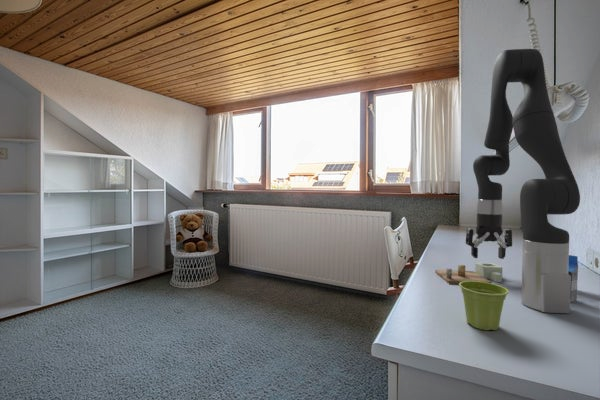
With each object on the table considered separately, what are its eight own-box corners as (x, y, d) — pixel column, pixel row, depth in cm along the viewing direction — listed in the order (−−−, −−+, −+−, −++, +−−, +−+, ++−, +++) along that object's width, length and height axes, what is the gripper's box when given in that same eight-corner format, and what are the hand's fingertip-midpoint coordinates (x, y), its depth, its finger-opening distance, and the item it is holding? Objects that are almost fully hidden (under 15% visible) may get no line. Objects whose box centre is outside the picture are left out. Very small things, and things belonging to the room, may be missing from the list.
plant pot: (463, 312, 73) (463, 278, 73) (509, 323, 67) (510, 285, 67) (454, 326, 66) (455, 287, 65) (505, 339, 60) (506, 297, 59)
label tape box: (532, 293, 86) (533, 251, 86) (539, 290, 88) (540, 250, 88) (570, 303, 79) (572, 257, 78) (577, 300, 81) (579, 256, 80)
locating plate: (491, 285, 93) (492, 271, 93) (448, 283, 95) (449, 270, 95) (472, 273, 106) (473, 261, 106) (435, 272, 108) (435, 260, 108)
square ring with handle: (475, 273, 107) (475, 262, 107) (492, 274, 106) (493, 263, 106) (488, 281, 97) (488, 269, 97) (508, 282, 97) (508, 270, 96)
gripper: (472, 213, 100) (471, 260, 101) (517, 213, 98) (516, 261, 99) (463, 211, 107) (462, 255, 108) (505, 211, 106) (503, 256, 107)
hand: (488, 258), depth 104 cm, fingers open, 8 cm apart
